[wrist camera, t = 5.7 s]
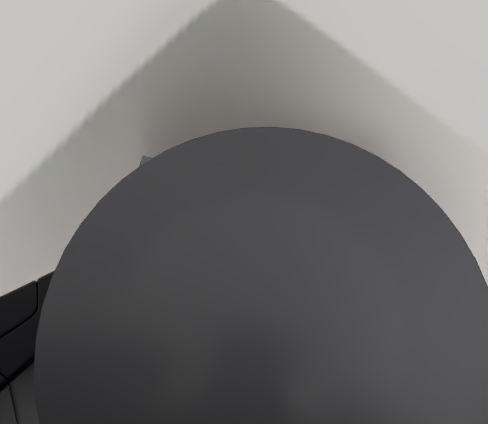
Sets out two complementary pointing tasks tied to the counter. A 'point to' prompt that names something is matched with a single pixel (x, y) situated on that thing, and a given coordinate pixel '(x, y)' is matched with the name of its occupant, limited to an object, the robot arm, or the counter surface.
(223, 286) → the white jar with lid
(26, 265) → the counter surface
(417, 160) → the counter surface
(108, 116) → the counter surface
